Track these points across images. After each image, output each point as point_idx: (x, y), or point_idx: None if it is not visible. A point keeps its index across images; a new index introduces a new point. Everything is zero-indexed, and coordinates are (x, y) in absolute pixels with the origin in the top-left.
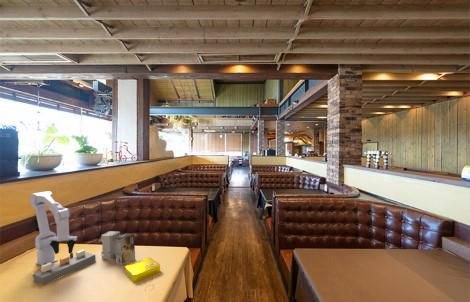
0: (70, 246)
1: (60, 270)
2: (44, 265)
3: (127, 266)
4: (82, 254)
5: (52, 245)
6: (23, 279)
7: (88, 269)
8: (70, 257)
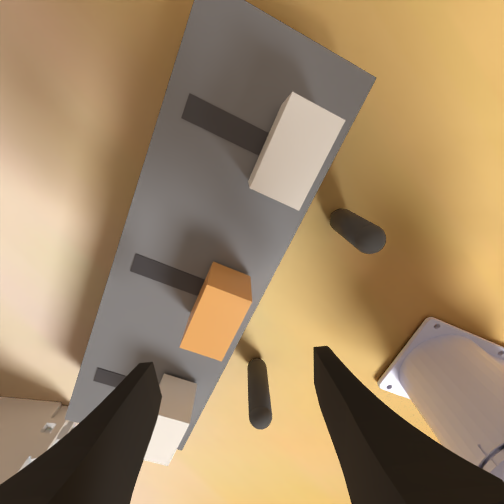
0: (40, 457)
1: (145, 161)
2: (309, 133)
3: None
4: None
5: (421, 462)
6: (459, 133)
7: (35, 271)
8: (260, 386)
